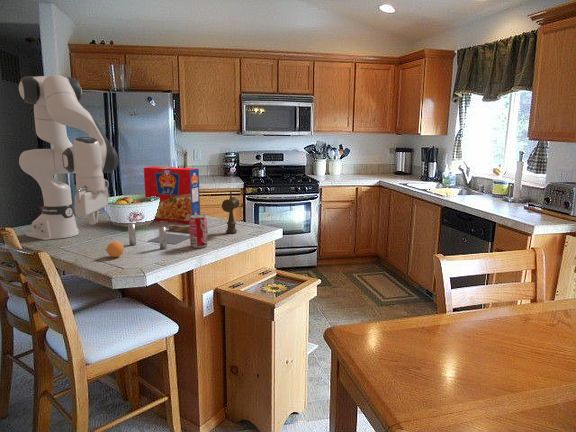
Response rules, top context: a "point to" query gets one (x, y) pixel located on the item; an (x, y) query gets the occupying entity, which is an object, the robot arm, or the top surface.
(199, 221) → the soda can
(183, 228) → the stopper wall
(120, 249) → the ball
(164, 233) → the right post
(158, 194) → the pasta box
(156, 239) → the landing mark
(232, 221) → the kendama
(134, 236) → the left post
